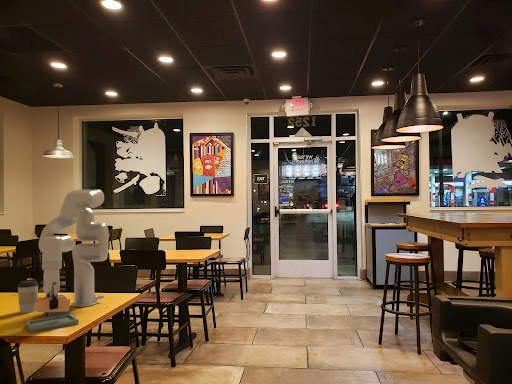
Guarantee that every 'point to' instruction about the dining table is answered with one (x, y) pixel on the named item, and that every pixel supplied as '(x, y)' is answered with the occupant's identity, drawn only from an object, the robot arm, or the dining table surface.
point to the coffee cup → (27, 295)
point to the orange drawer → (44, 304)
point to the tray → (51, 323)
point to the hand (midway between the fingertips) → (51, 307)
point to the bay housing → (53, 314)
